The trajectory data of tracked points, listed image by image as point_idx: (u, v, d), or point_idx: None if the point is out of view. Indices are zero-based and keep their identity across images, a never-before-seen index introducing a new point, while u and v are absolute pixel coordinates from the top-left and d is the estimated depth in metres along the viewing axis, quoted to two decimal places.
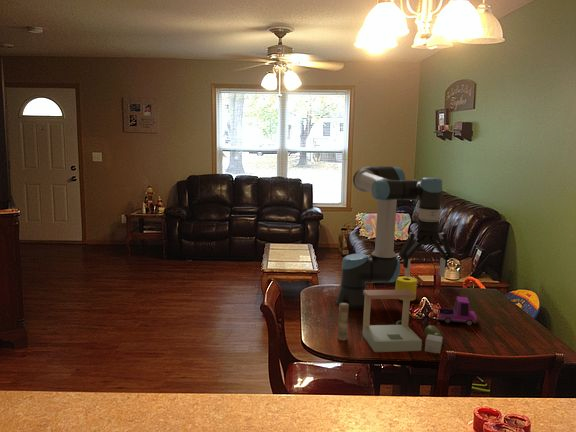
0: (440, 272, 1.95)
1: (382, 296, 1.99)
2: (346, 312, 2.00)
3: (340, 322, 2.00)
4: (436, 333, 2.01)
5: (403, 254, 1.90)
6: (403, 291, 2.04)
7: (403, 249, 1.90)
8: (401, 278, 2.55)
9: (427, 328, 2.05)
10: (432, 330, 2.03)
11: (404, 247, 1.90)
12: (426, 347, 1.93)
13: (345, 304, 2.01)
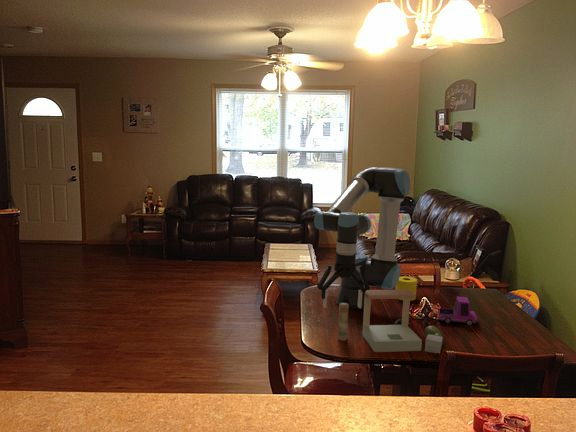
0: (358, 304, 2.01)
1: (382, 296, 1.99)
2: (346, 312, 2.00)
3: (340, 322, 2.00)
4: (436, 333, 2.01)
5: (320, 286, 1.96)
6: (403, 291, 2.04)
7: (321, 281, 1.97)
8: (401, 278, 2.55)
9: (427, 328, 2.04)
10: (433, 330, 2.02)
11: (322, 278, 1.97)
12: (426, 347, 1.93)
13: (345, 304, 2.01)
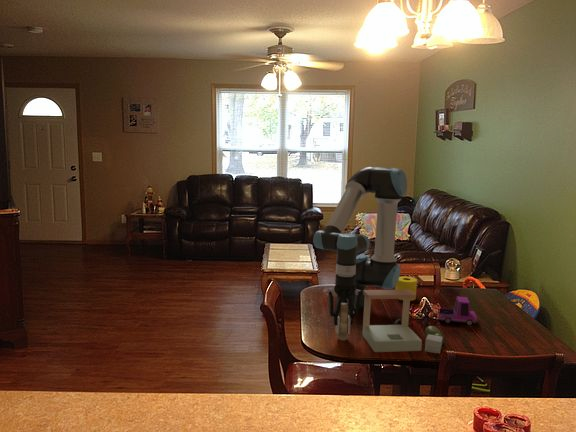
0: None
1: (382, 296, 1.99)
2: (346, 312, 2.00)
3: (340, 322, 2.00)
4: (437, 334, 2.01)
5: (331, 312, 1.99)
6: (403, 291, 2.04)
7: (329, 308, 2.00)
8: (401, 278, 2.55)
9: (428, 329, 2.04)
10: (433, 331, 2.02)
11: (329, 305, 2.00)
12: (426, 347, 1.93)
13: (345, 304, 2.01)
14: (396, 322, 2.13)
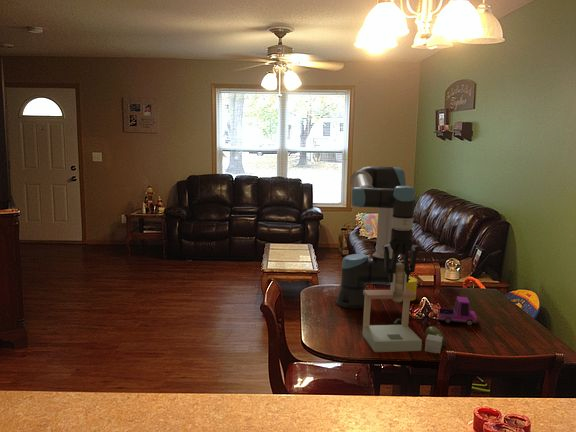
0: None
1: (382, 296, 1.99)
2: (402, 272, 1.90)
3: (396, 283, 1.91)
4: (437, 334, 2.00)
5: (387, 269, 1.90)
6: (403, 291, 2.04)
7: (385, 264, 1.90)
8: None
9: (428, 329, 2.04)
10: (433, 331, 2.02)
11: (385, 261, 1.90)
12: (426, 347, 1.93)
13: (401, 264, 1.91)
14: (396, 322, 2.14)
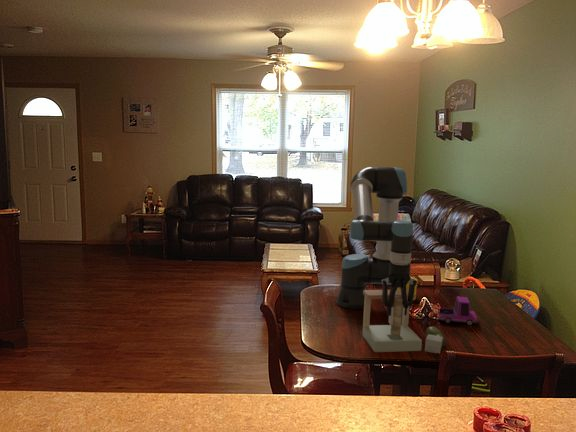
0: None
1: None
2: (400, 305, 1.92)
3: (394, 316, 1.93)
4: (438, 334, 2.00)
5: (385, 302, 1.92)
6: None
7: (383, 297, 1.92)
8: None
9: (428, 329, 2.03)
10: (434, 332, 2.01)
11: (383, 295, 1.92)
12: (426, 347, 1.93)
13: (399, 297, 1.94)
14: None
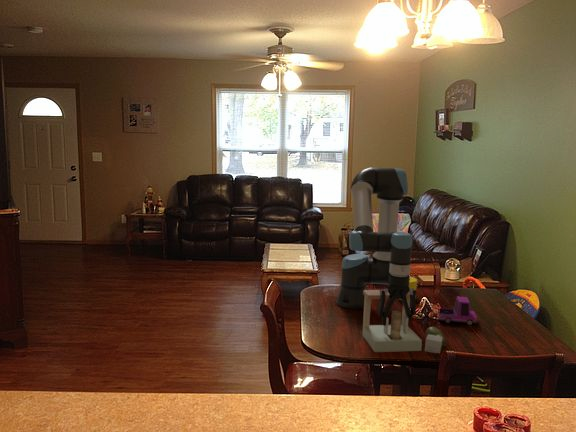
0: (403, 329, 1.97)
1: None
2: (399, 320, 1.93)
3: (393, 330, 1.94)
4: (438, 335, 2.00)
5: (381, 312, 1.92)
6: None
7: (379, 307, 1.93)
8: None
9: (429, 330, 2.03)
10: (434, 332, 2.01)
11: (380, 305, 1.93)
12: (426, 347, 1.93)
13: (398, 311, 1.95)
14: None
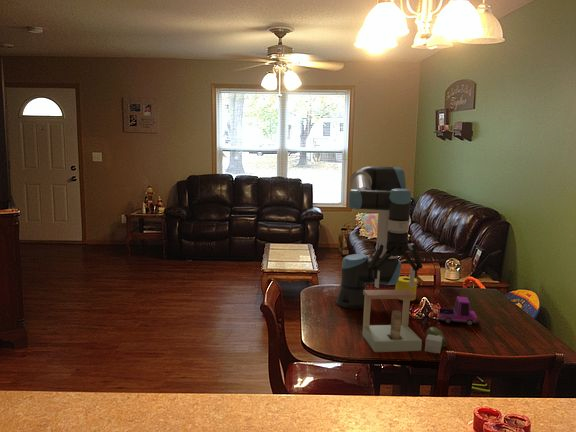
0: (410, 283, 1.95)
1: (382, 296, 1.99)
2: (399, 320, 1.93)
3: (393, 330, 1.94)
4: (439, 335, 1.99)
5: (372, 265, 1.90)
6: (403, 291, 2.04)
7: (372, 260, 1.91)
8: (401, 278, 2.55)
9: (429, 330, 2.03)
10: (435, 332, 2.01)
11: (374, 258, 1.91)
12: (426, 347, 1.93)
13: (398, 311, 1.95)
14: None
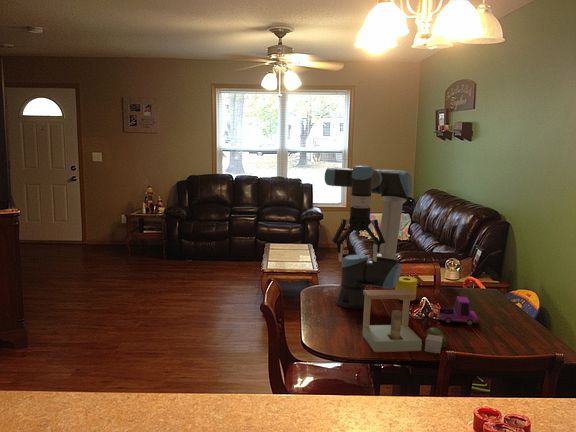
0: (373, 257, 2.02)
1: (382, 296, 1.99)
2: (399, 320, 1.93)
3: (393, 330, 1.94)
4: None
5: (335, 239, 1.97)
6: (403, 291, 2.04)
7: (336, 235, 1.97)
8: (401, 278, 2.55)
9: (430, 331, 2.02)
10: (435, 333, 2.00)
11: (337, 232, 1.97)
12: (426, 347, 1.93)
13: (398, 311, 1.95)
14: None
